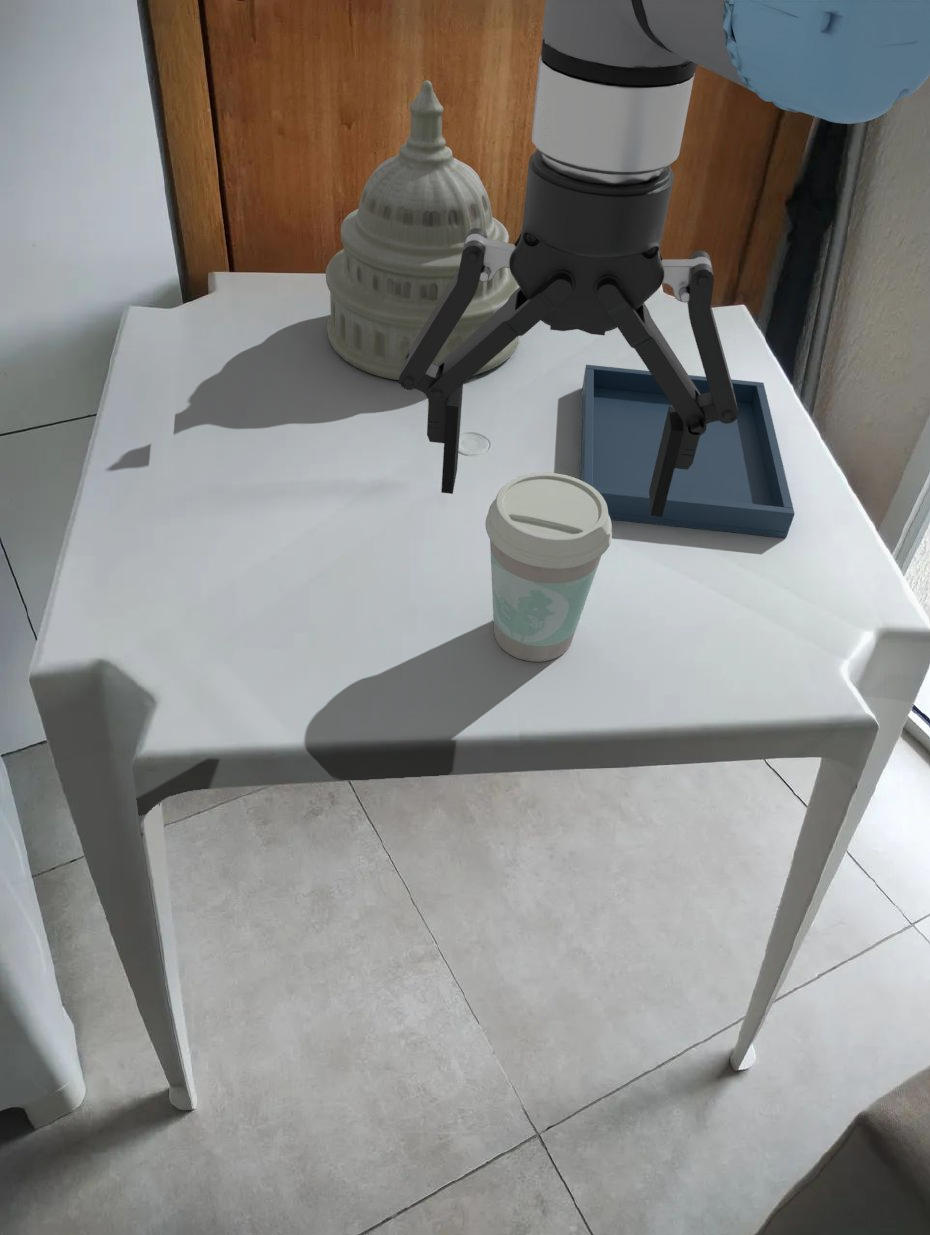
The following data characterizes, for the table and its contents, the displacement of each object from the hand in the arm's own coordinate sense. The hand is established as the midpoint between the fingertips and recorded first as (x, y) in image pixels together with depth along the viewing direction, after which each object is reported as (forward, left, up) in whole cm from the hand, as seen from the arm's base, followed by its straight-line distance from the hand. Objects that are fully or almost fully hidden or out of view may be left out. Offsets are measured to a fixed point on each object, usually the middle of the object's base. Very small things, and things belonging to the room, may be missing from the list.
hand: (552, 493), depth 66 cm
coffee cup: (0, 0, -13) cm, 13 cm away
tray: (+26, -12, -13) cm, 31 cm away
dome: (+44, +14, -13) cm, 48 cm away
